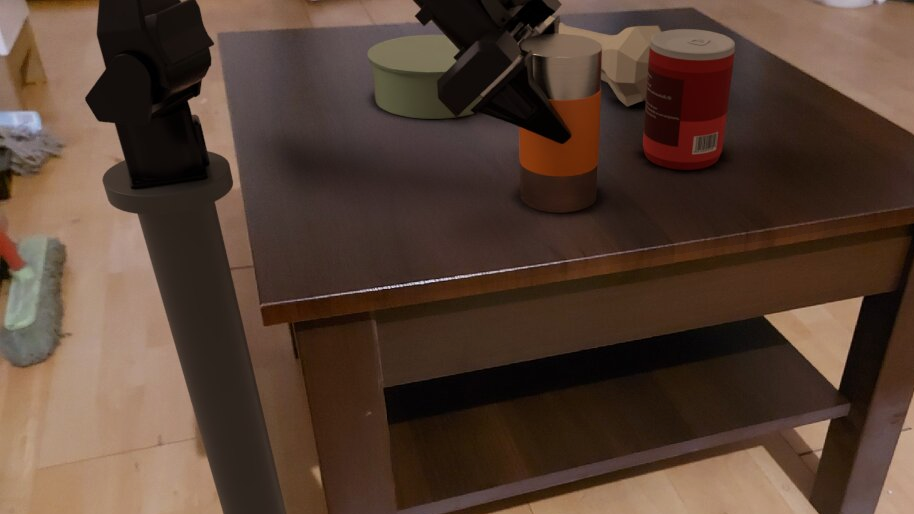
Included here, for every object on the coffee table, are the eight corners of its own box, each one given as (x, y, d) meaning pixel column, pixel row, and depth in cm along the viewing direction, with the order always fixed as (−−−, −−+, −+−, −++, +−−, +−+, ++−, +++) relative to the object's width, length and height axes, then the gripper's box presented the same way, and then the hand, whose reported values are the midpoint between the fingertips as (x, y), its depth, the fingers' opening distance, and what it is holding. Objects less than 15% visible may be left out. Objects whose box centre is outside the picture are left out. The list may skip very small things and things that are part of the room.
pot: (397, 133, 86) (392, 83, 84) (354, 81, 99) (349, 36, 96) (523, 116, 92) (523, 69, 89) (468, 68, 104) (466, 26, 102)
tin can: (538, 218, 72) (538, 61, 65) (508, 187, 77) (505, 37, 70) (610, 205, 75) (617, 52, 67) (576, 176, 80) (580, 30, 72)
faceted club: (628, 111, 91) (490, 63, 107) (681, 117, 97) (543, 71, 113) (647, 24, 88) (502, -12, 104) (701, 35, 94) (556, -1, 110)
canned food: (728, 147, 87) (743, 34, 81) (710, 177, 80) (725, 57, 74) (655, 135, 89) (664, 24, 83) (631, 163, 82) (639, 45, 76)
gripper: (472, -86, 55) (633, 100, 60) (537, -120, 71) (661, 30, 76) (368, 31, 61) (524, 192, 66) (449, -24, 76) (570, 110, 81)
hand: (575, 124), depth 72 cm, fingers closed on tin can, 7 cm apart
